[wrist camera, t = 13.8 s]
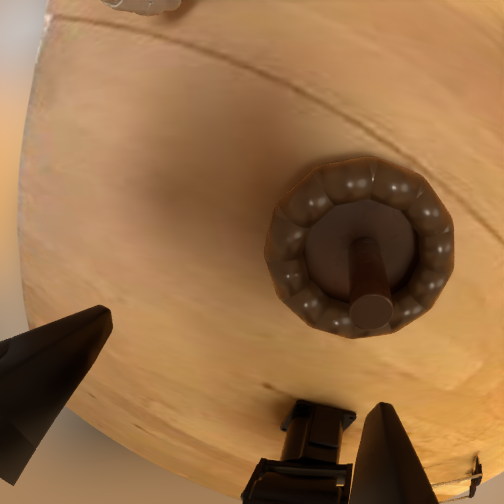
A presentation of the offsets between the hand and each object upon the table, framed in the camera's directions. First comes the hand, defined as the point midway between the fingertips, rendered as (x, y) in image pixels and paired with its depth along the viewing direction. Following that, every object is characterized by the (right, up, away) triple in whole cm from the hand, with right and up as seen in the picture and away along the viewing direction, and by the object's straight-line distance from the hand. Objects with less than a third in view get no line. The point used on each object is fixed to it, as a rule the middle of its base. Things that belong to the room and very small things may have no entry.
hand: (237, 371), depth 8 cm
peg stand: (+7, +4, +10) cm, 13 cm away
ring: (+7, +3, +8) cm, 11 cm away
